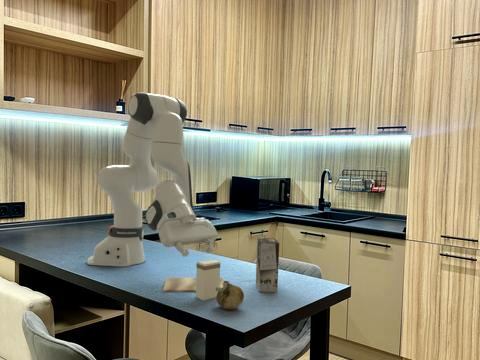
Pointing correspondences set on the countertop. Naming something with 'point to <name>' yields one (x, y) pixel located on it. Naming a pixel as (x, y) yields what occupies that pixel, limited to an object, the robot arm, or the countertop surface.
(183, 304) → the countertop surface
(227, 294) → the onion
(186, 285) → the mat
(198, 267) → the card box
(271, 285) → the coffee box
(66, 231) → the countertop surface
